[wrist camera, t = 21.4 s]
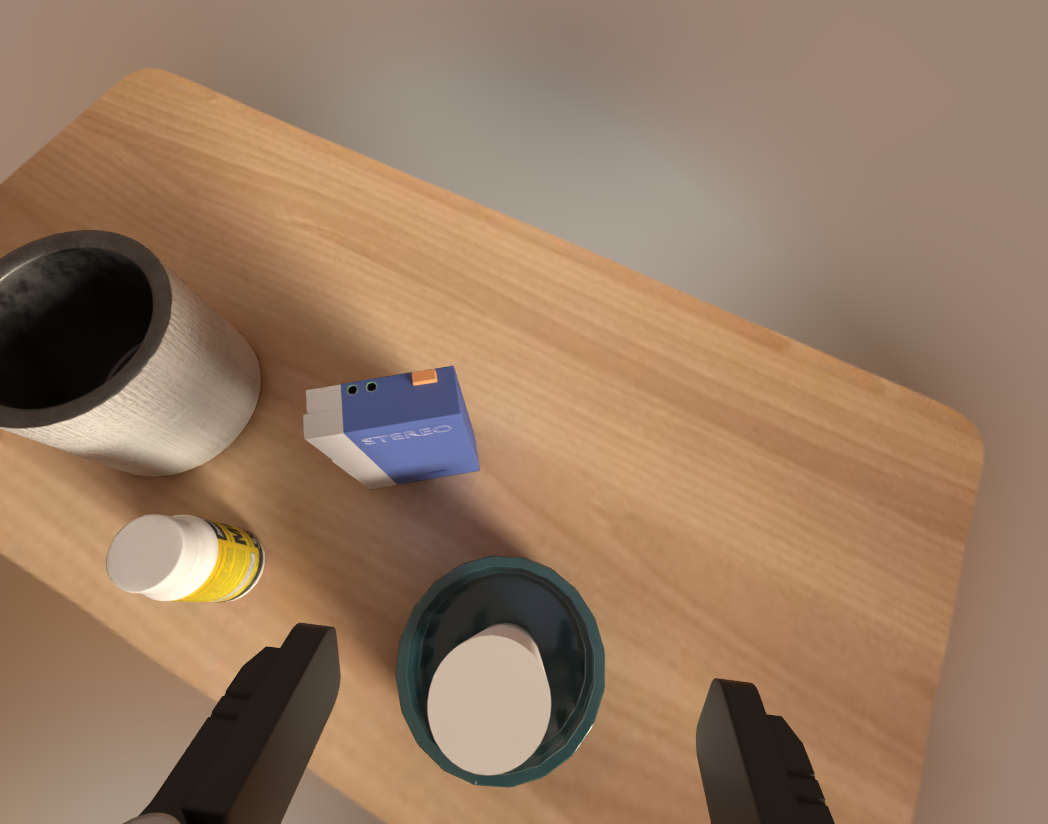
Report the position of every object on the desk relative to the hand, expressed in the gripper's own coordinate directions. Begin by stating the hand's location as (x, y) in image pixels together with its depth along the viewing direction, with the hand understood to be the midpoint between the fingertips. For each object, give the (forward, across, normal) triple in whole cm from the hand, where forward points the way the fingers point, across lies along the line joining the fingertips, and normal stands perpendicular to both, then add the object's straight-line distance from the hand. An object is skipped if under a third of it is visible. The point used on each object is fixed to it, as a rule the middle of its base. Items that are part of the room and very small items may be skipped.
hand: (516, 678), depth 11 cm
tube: (+15, +1, +18) cm, 23 cm away
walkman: (+24, +8, +10) cm, 27 cm away
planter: (+26, +27, +8) cm, 38 cm away
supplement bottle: (+18, +20, +16) cm, 31 cm away
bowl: (+15, +1, +18) cm, 24 cm away
